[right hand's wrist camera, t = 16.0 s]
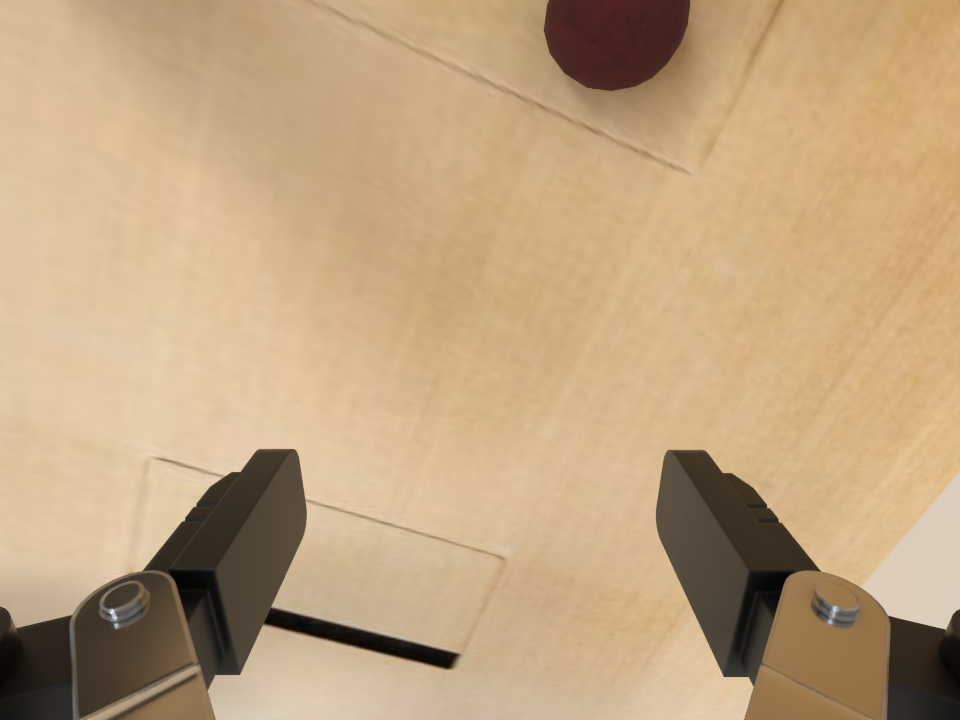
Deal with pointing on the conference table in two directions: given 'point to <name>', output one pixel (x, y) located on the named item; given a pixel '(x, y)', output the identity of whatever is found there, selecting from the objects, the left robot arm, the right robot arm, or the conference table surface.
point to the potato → (614, 39)
